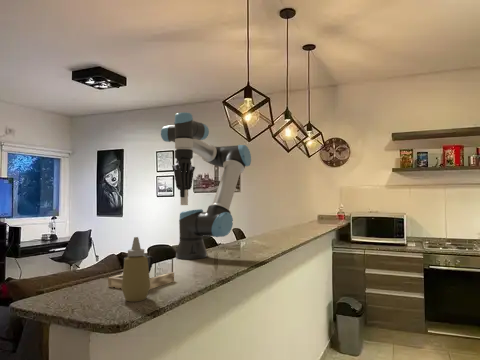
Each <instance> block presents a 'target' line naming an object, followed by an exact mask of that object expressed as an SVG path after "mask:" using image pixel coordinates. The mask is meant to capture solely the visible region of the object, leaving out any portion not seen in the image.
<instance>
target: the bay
mask: <svg viewBox="0 0 480 360" xmlns="http://www.w3.org/2000/svg"><path fill="white" fill-rule="evenodd" d="M149 278H150V277H149ZM122 279H123V273H121V274H117V275H113V276H110V277H108V278H107V287H108V286H109V287H108V288H113V287H115V288H114V289H119V288H121V290H122ZM174 282H175V272H173V271H172V272H171V271H170V272H167V273H164V274H160V275H156V276H154V277H151V278H150V288H149V290H153V289H155V288H157V287H162V286H165V285H167V284H170V283H174Z"/></svg>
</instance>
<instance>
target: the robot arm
mask: <svg viewBox="0 0 480 360" xmlns="http://www.w3.org/2000/svg"><path fill="white" fill-rule="evenodd" d="M209 135H210V129H209V127H208V126H207V125H206V124H204V123H202V122H198V121H197V120H196V121H195V120H194V118H193V114H192V113H190V112H187V111H186V112H185V111H184V112H177V113H175V115H174V124H169V125H165V126H162V128H161V130H160V137H161V139H162V141H164V142H166V143H170V142H173V143H174V149H175V150H174V158H175V159H176V162H175V164H173V165H171V166H172V170H173V173H174V180H175V185H176V186H175V187H176V188H177V190H179V197H180V206H189V190H191V188H192V187H193V186H192V185H193V179H194V171H195V169H196V166H193V165H192V161H191V160H192V159H193V158H194V155H193V154H195V155H197V156H199V157H201V159H202V160H203V161H204V162H206V163H208V164H210V165H212V166H215V167H218V168H224V170H223V172H222V174H221V175H222V176H221V179H220V180H219V185H218V186H217V190H216V193H215V195H214V199H213V202H212V204H210V205H209V206H208V207H207V210H206V211H204V210H203V208H199V209H191V210H189V209H188V210H184V211H181V212H180V213H179V220H178V224H179V241H178V246H177V248H176V251H175V258H176V259H180V260H198V259H204V258H206V257H208V255H207V254H208V252H207V249H206V245H205V243H204V237H212V238H213V237H215V238H223V237H226V236H228V235H229V233H230V232H231V231H232V228H233V223H234V222H233V221H234V218H233V215H232V212H231V210H230V208H231V204H232V200H233V197H234V194H235V190H236V188H237V184H238V181H239V178H240V175H241V173H244V171H245V169H246V167H249V166H251V163H252V156H251V155H252V154H251V151H250V149H249V147H248V146H247V145H245V144H238V145H225V146H215V145H214V144H208V143H206V142H205V141H203V140H206V139H207V138H208V136H209Z"/></svg>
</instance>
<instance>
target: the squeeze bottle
mask: <svg viewBox="0 0 480 360" xmlns="http://www.w3.org/2000/svg"><path fill="white" fill-rule="evenodd" d="M139 239H140V238H139V236H135V237H133V241H132V246H131V249H128V250H127V256H126V257H127V258H126V259H125V260H124V259H123V270H122V274H123V279H122V289H121V291H122V294H123V296H124V299H125V301H127V302H133V303H135V302H141V301H144V300H146V299H147V296H148V294H149V291H150V289H149V288H150V273H149V268H148V258H147V257H145V256H146V255H145V249H144V248H141V244H140V240H139ZM128 256H129V257H128Z"/></svg>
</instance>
